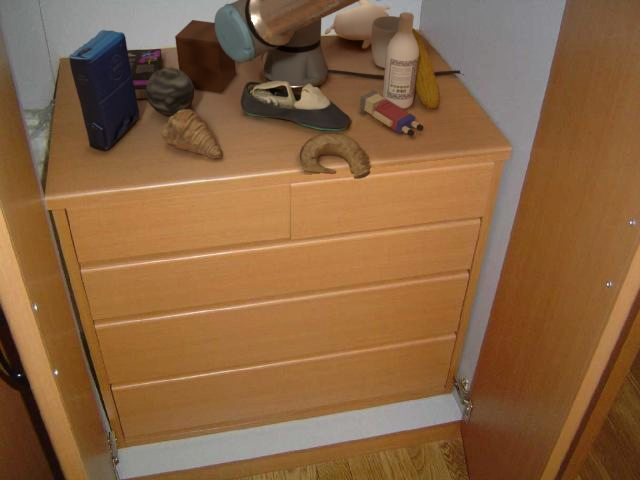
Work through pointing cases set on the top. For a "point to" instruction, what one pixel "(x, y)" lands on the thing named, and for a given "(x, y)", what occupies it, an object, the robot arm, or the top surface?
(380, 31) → the mug
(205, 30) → the lid
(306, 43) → the robot arm
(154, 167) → the top surface
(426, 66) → the food
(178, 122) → the seashell
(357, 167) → the artifact
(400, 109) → the toy
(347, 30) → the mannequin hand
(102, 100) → the blue rectangular carton
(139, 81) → the box
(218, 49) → the chest
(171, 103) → the decorative stone
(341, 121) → the ballet flat
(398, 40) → the bath foam
